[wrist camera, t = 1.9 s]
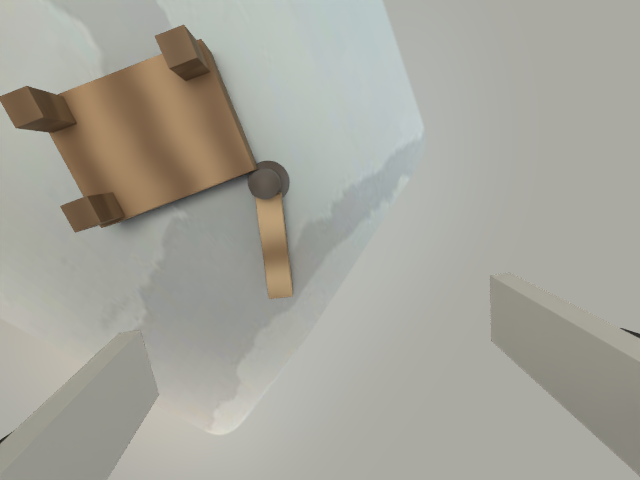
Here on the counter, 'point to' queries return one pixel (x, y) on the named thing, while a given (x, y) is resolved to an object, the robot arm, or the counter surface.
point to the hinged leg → (272, 231)
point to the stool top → (143, 133)
